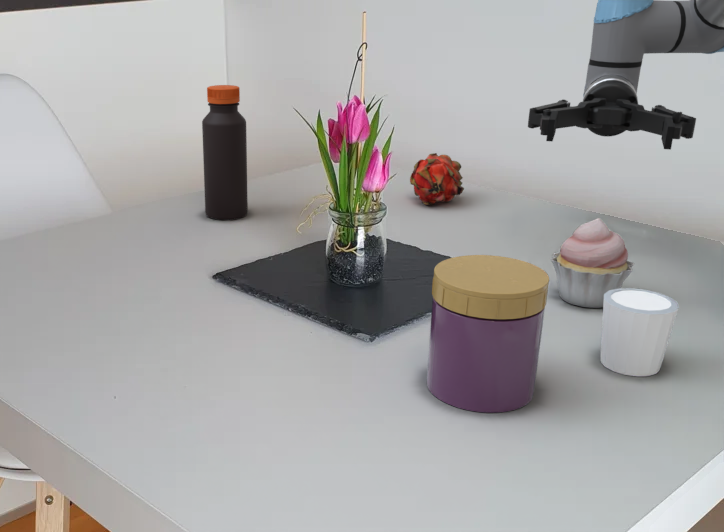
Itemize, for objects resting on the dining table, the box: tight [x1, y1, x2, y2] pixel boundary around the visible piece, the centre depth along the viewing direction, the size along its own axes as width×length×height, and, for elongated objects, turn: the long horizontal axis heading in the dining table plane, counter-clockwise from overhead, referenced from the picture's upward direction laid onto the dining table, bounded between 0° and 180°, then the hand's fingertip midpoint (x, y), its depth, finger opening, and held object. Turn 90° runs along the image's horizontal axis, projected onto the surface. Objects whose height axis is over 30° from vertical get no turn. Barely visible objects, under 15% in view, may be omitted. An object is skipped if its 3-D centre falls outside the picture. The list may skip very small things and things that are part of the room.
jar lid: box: [431, 254, 550, 319], centre depth 76 cm, size 10×10×2 cm
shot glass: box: [599, 287, 680, 377], centre depth 83 cm, size 7×7×7 cm
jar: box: [426, 296, 546, 414], centre depth 78 cm, size 10×10×11 cm
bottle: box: [201, 84, 249, 221], centre depth 130 cm, size 7×7×20 cm
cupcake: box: [550, 217, 635, 309], centre depth 99 cm, size 9×9×10 cm
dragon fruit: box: [409, 152, 465, 206], centre depth 140 cm, size 8×8×12 cm
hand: (608, 134), depth 102 cm, fingers open, 13 cm apart
